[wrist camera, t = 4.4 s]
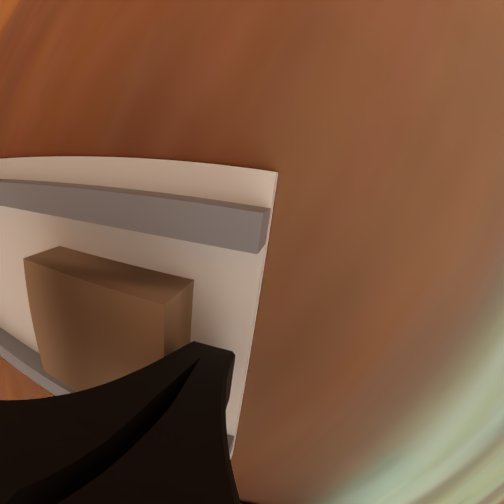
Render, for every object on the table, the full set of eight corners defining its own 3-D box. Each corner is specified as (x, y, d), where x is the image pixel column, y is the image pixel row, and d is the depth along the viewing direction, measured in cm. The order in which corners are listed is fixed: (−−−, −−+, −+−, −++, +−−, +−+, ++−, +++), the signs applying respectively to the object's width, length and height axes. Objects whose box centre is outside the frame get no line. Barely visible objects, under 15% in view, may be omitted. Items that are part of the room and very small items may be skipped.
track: (278, 172, 8) (258, 168, 5) (232, 453, 11) (214, 502, 9) (-43, 162, 12) (-74, 166, 9) (-28, 317, 15) (-54, 331, 12)
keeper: (194, 279, 9) (164, 304, 7) (188, 398, 10) (167, 432, 8) (59, 245, 10) (23, 258, 8) (72, 351, 11) (44, 371, 10)
